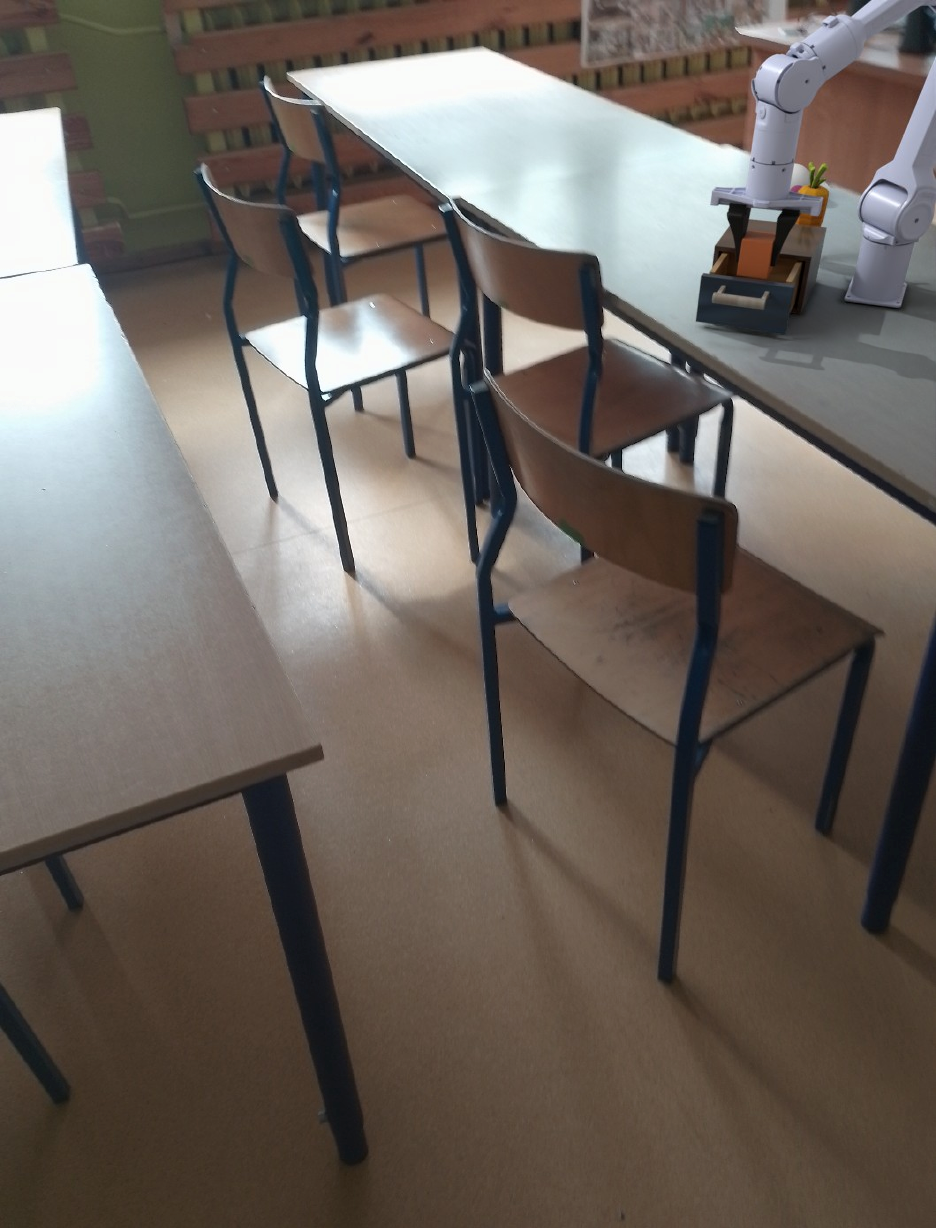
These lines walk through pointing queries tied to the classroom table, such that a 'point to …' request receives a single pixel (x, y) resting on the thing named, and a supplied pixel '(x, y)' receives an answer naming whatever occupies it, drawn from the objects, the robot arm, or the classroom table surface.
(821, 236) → the cabinet
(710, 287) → the drawer
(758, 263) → the block
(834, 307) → the classroom table surface
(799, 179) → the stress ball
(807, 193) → the carrot
